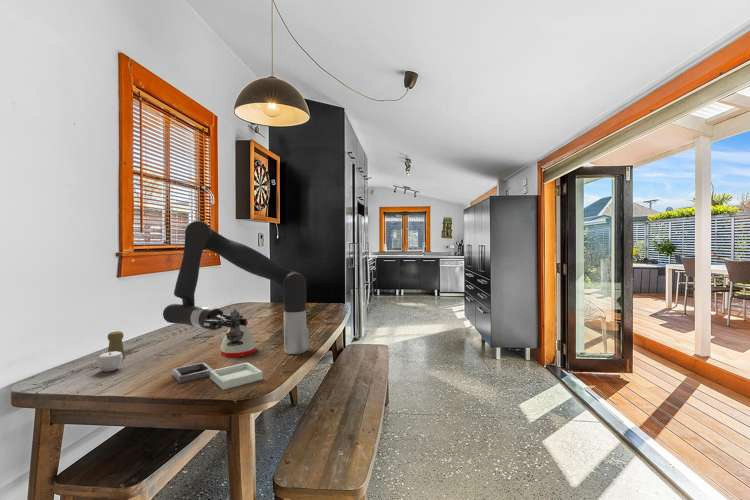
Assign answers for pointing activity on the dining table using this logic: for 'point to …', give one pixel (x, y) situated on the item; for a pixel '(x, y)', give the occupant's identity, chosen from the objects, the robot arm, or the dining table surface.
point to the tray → (235, 375)
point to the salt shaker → (235, 331)
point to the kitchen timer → (242, 349)
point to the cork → (116, 342)
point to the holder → (177, 373)
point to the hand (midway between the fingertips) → (240, 323)
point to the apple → (109, 361)
